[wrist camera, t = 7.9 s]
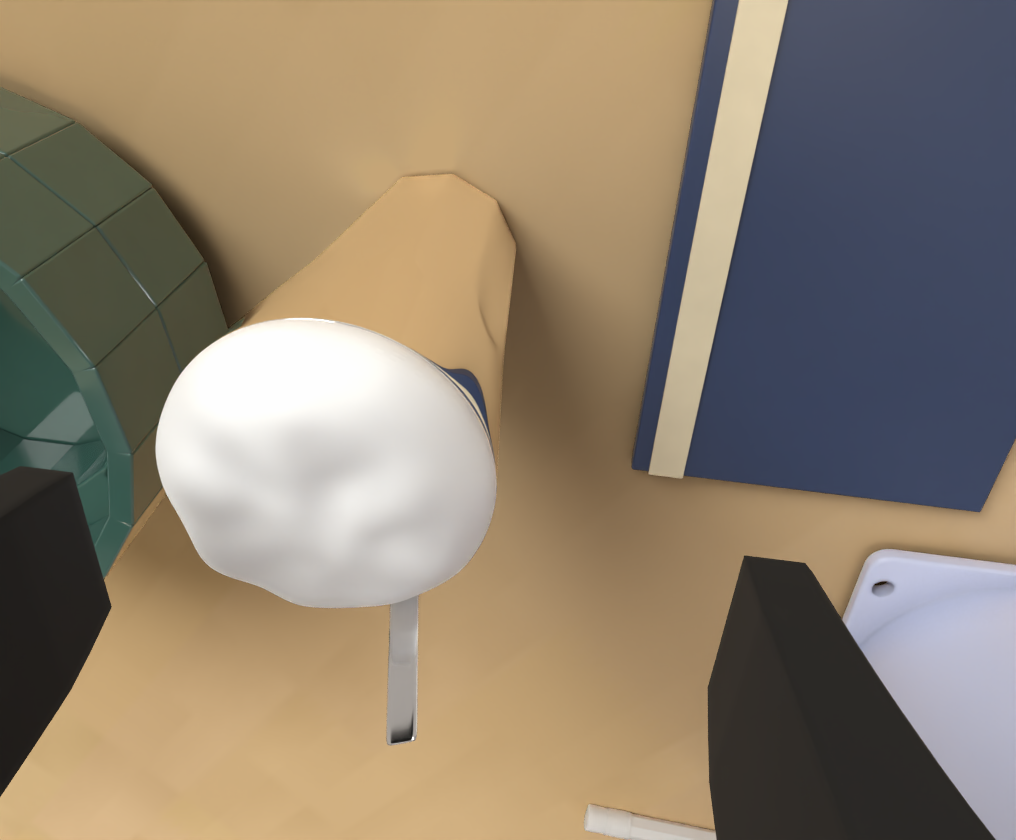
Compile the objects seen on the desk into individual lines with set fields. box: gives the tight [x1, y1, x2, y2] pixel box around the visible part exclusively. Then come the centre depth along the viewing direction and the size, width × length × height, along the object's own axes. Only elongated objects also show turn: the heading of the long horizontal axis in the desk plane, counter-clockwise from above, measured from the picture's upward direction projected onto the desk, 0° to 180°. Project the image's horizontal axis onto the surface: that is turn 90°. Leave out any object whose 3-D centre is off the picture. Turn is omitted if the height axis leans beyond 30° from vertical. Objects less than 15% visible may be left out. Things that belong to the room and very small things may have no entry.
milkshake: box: [156, 173, 516, 745], centre depth 14 cm, size 4×5×10 cm
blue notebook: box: [632, 0, 1016, 512], centre depth 16 cm, size 15×8×1 cm, turn 176°
